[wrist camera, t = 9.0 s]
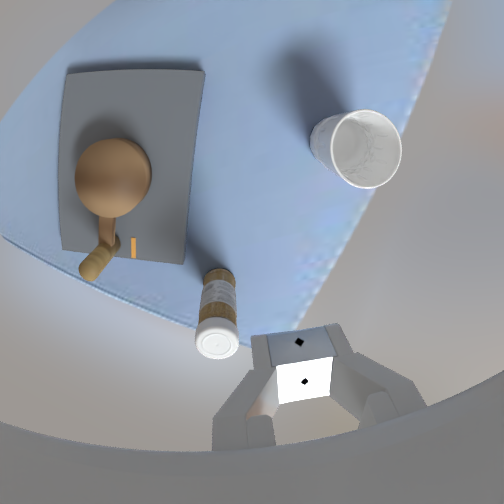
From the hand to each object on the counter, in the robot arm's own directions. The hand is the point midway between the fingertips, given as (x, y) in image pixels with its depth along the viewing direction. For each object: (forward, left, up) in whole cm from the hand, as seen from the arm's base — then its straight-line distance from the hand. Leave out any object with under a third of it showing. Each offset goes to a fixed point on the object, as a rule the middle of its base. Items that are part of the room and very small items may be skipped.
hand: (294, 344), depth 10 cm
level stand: (-1, -16, -29) cm, 33 cm away
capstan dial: (+3, -16, -27) cm, 31 cm away
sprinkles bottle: (+14, -2, -29) cm, 33 cm away
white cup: (-7, +10, -29) cm, 32 cm away
